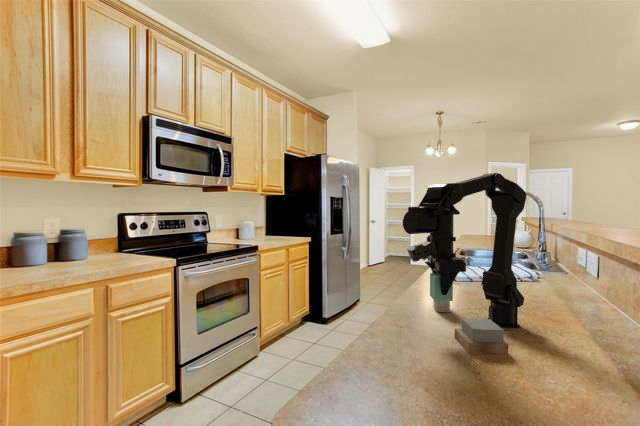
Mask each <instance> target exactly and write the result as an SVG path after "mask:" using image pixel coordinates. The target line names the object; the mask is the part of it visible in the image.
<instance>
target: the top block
mask: <svg viewBox="0 0 640 426" xmlns="http://www.w3.org/2000/svg"><path fill="white" fill-rule="evenodd" d="M461 329H462V331H463V332H464V333H465V334H466V335H467V337H468V338H469V339H470V340H471V341H472V342H494V343H503V340H504V338H505V337H504V332H505V331H504V329H503V327H499V326H498V325H497V324H495V323H494V322H493V321H492V320H490V319H488V318H486V319H485V318H461Z"/></svg>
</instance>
